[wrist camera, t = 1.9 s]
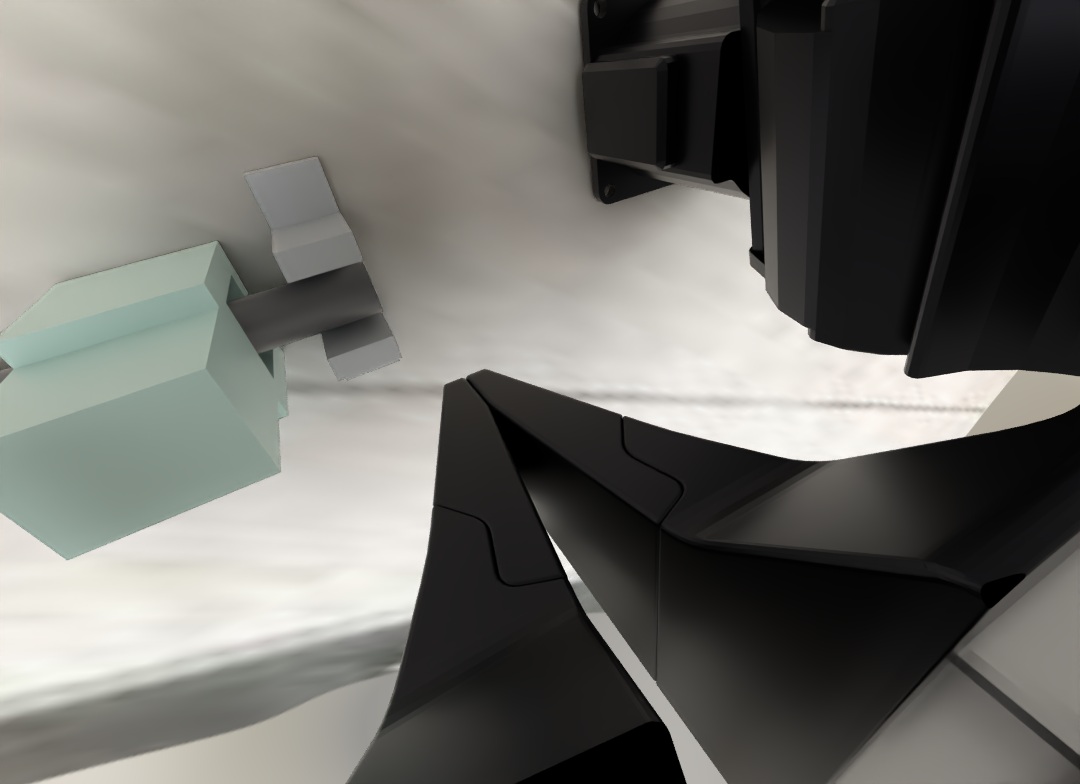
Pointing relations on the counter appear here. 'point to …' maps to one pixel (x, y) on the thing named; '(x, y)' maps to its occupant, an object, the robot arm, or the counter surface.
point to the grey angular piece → (312, 276)
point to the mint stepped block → (134, 401)
